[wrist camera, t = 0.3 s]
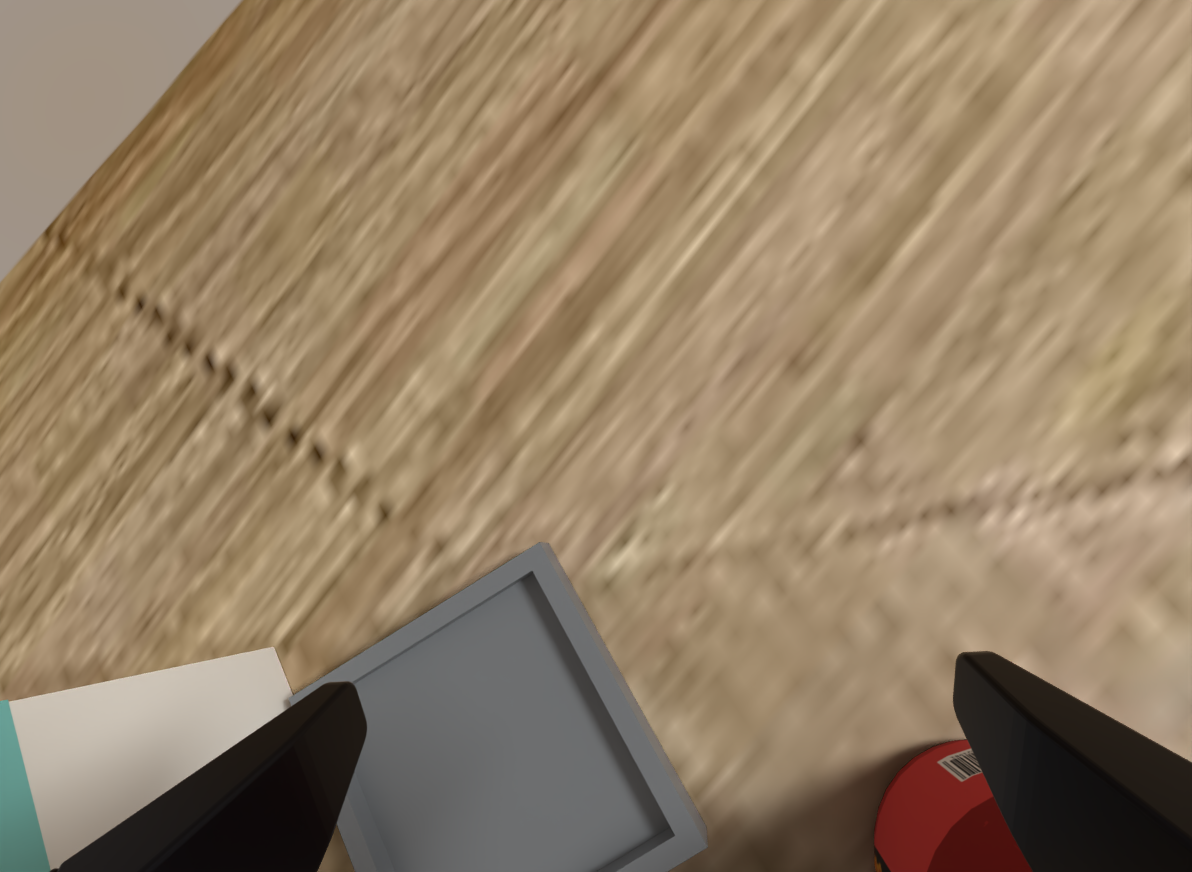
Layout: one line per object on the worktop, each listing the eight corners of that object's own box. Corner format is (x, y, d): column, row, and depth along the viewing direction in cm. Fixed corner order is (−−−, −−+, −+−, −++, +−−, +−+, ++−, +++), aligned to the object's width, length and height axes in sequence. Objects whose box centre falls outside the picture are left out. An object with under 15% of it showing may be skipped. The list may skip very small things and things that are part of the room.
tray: (706, 827, 21) (707, 847, 19) (432, 991, 21) (413, 1024, 20) (548, 543, 24) (539, 542, 22) (312, 689, 24) (288, 698, 23)
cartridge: (313, 745, 24) (-83, 938, 12) (224, 802, 24) (-259, 1051, 12) (274, 644, 25) (-122, 726, 13) (188, 700, 25) (-281, 831, 13)
